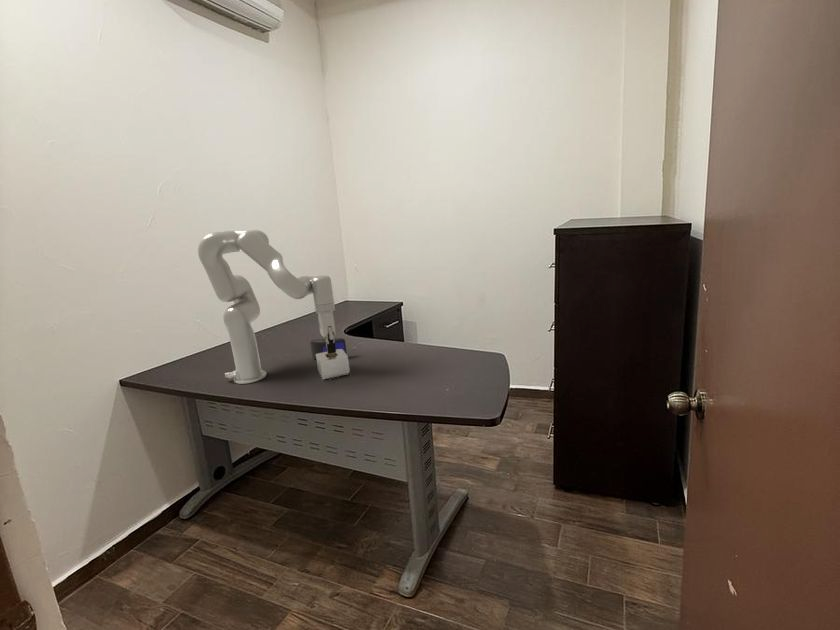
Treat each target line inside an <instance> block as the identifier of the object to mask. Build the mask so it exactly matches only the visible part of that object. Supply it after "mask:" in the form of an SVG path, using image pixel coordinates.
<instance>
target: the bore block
mask: <svg viewBox="0 0 840 630" xmlns="http://www.w3.org/2000/svg"><path fill="white" fill-rule="evenodd" d="M335 353H336V356H333V357H328V354H327V352H323V353H318V354H316V359H317V360H316V365H317V371H319V372H318V374H319V373H320V374H319V376H320V375H321V376H320V378H321V377H322V378H321V380H322V379H325V378H329V377H333V376H337V375H341V374H345V373H349V372H350V373H351V371H350V364H349V363H350V362H349V356H348V353H347V354H346V353H345V352H344V351H343V349H338V350H336V352H335Z"/></svg>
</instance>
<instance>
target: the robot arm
mask: <svg viewBox="0 0 840 630" xmlns="http://www.w3.org/2000/svg"><path fill="white" fill-rule="evenodd" d="M238 252H239V253H241V252H242V253H244V254H245V255H247V256H248V257H249V258H251V259H252V260H253V261H254V262H255V263H256V264H258V265H259V266H260V267H261V268H262V269H263V270H265V271H266V273H267V275H268V276H269V278H270V279H271V281H272V282H273V284H274V285H275V286H276V287H277V288H278V289H280V290H281V291H282V292H283V293H285V295H287V296H288V297H290V298H292V299H294V300H302V299H303V298H306V297H307V296H309V295H312V296H313V303H314V310H315V313H316V314H317V318H318V327H319V333H320V335H321V336H322V337H323V339H325V337H326V338H327V347H326V350H328V353H335V352H336V347H335V342H334V338H335V336H336V326H335V325H336V324H335V319H334V311H335V310H336V308H335V307H336V306H335V299H334V293H333V285H332V279H331V277H330V275H317V276H308V275H303V276H300V277H298V278H297V277H296V276H295V275H293V273H291V272H290V271H289V270H288V269H287V267H286V266H285V264H284V259H283V255H282V254H281V253H280V252H279V251H278V250H276V249H275V248H274V247H273V246H272V245H270V240H269V237H268V235H267V234H266V233H265V232H264V231H261V230H258V229H255V230H254V229H253V230H225V231H215V232H211V233H208V234H207V235H205V236H204V237H202V239H201V240H200V242H199V243H198V247H197V254H198V258H199V261H200V263H201V264H202V267H204V268H203V269H204V270H205V273H206V274H207V276H208V280H209V282H210V284H211V286H212V288H213V291H214V292H215V295H216V297H217V298H218V300H219V301H221V302H223V303H231V302H233V304H231V305H230V306H228V307H227V308H226V309H225V311H224V313H223V318H222V319H223V323H224V325H225V327H226V330H227V333H228V337H229V341H230V347H231V351H232V352H231V353H232V355H233V361H234V365H235V370H232V371H231V372H225V373H224V377H225V379H226V378H228V379H232V378H233V382H234V383H235V384H238V385H244V384H245V385H246V384H252V383H256V382H259V381H260V380H263V379H264V378H266V376H267V372H266V370H263V369H262V365H261V360H260V354H259V353H260V352H259V348H258V344H257V337H256V334H255V331H254V329H253V327H252V322H254V321H255V320H257V319H258V318H259V316H260V313H261V308H260V305H259V302H258V299H257V297H256V295H255V293H254V290H253V288H252V286H251V283H250V282H249V281H248V280H247V278H246V277H244V276H243V275H238V274H236V275H235V274H233V272H232V269H231V266H230V265H229V263H228V262H227V260H226V259H225V258H224V257H223V255H225V254H231V253H238ZM327 335H329V336H327ZM328 338H329V339H328ZM325 345H326V340H325Z"/></svg>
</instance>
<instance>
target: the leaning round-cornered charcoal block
mask: <svg viewBox="0 0 840 630" xmlns="http://www.w3.org/2000/svg"><path fill="white" fill-rule="evenodd" d="M334 342H335V347H336V350H338V349H343V351H344V352H345V353H346V354H347V355H348V353H347V344H346V340H345V338H343V337H342V338H341V337H339V338H336V337H334ZM309 344H310V349H311V356H312V359H313V360H315V359H316V354H318V353H323V352H327V350H326V345H325V338H316V339H311V340H310V342H309ZM315 361H317V359H316V360H315Z"/></svg>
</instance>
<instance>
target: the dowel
mask: <svg viewBox="0 0 840 630" xmlns="http://www.w3.org/2000/svg"><path fill="white" fill-rule="evenodd" d="M327 336H329V335H327ZM324 339H325V340H326V347H327V338H326V337H325V338H324ZM328 339H329V338H328ZM327 354H328V357H333V356H336V353H328V350H327Z"/></svg>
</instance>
